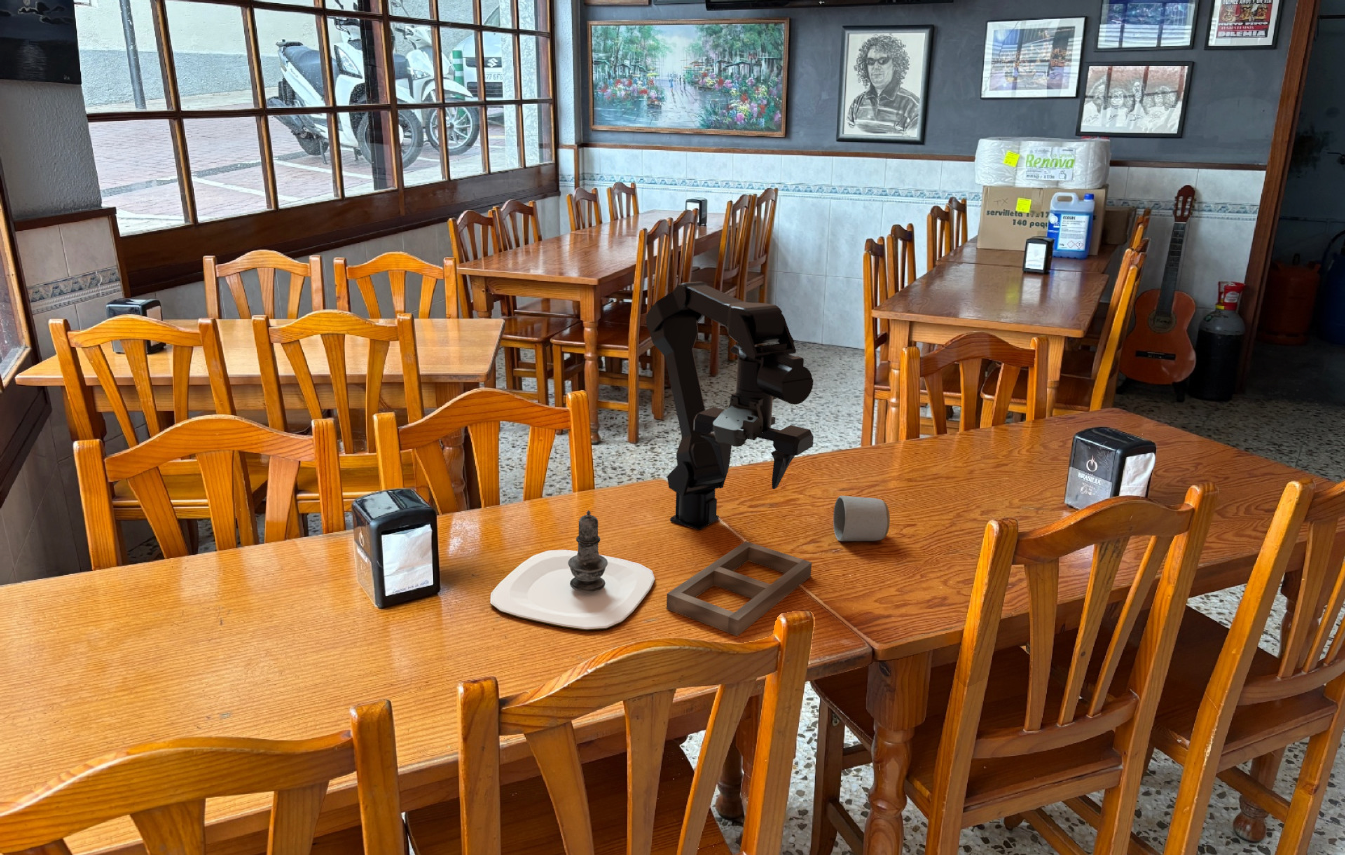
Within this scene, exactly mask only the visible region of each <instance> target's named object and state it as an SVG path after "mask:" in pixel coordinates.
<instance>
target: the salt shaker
mask: <svg viewBox="0 0 1345 855" xmlns="http://www.w3.org/2000/svg"><path fill="white" fill-rule="evenodd" d="M585 513H586V514H584V515H582V516H581V517H579V520H578V535H577V536H576V538H575V541H576V542H577V551H578V553H577V555H576V556H573V557H572V558H570V560H569V561H568V565H569V567H570V570H571V572H572V574H573V576H574V577H575V578H573V579H572V580H571V581H570V586H571V587H572V588H573V589H574V590H576V591H579V592H595V591H599V590H601V589H602V588H604V586H605V581H604V579H602V578H601V576H602V575H603V574H604V571H605V568H606V566H607V564H608V561H607V559H605V558H604V557H603V556H601V555H602V554H599V543H600V542H601V537H600V536H599V519H598V518H597V517H596V516H595V515H592V512H591V511H590V510H587V511H586V512H585Z"/></svg>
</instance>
